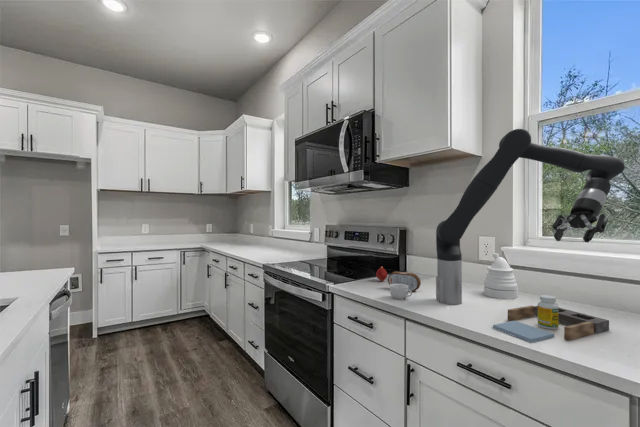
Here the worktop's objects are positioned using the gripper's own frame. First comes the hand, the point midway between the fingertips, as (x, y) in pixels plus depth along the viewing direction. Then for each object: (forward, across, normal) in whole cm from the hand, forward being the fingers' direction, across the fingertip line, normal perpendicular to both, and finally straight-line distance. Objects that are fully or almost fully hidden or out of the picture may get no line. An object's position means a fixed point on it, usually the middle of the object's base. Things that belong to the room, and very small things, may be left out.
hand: (570, 240), depth 103 cm
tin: (+36, -56, -2) cm, 67 cm away
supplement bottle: (+29, 0, +8) cm, 30 cm away
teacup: (+43, -45, -10) cm, 63 cm away
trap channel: (+26, 0, +11) cm, 28 cm away
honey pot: (+14, -33, +23) cm, 43 cm away
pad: (+37, 0, -1) cm, 37 cm away
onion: (+35, -76, -2) cm, 84 cm away
